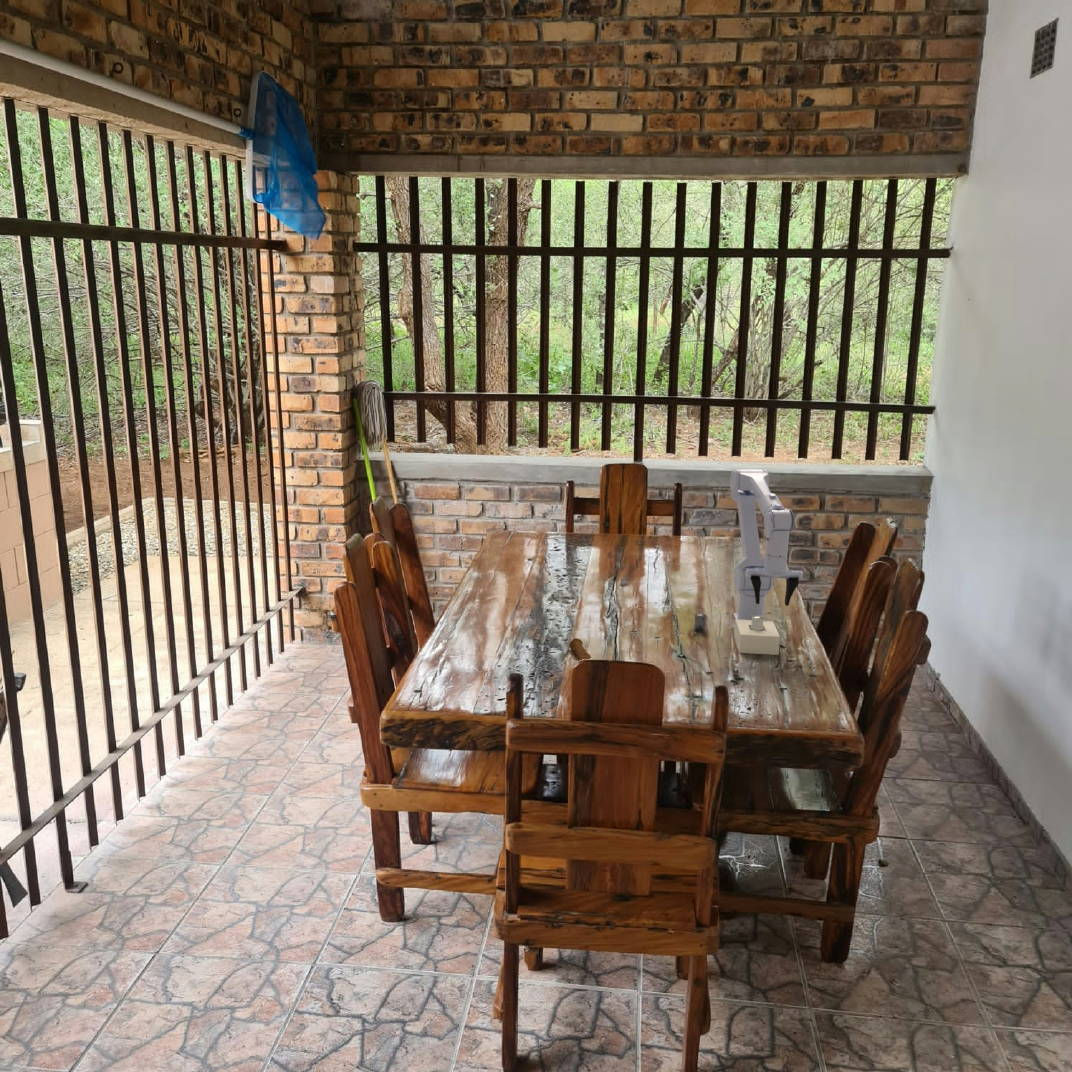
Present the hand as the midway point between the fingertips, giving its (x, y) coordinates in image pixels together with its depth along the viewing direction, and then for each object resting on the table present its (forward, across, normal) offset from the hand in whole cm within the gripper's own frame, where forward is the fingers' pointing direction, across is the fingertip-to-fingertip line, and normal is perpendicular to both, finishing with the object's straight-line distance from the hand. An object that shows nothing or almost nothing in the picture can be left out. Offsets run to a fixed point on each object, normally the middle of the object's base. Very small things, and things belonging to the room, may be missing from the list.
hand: (771, 603), depth 256 cm
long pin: (+10, -4, -4) cm, 12 cm away
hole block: (+10, -4, -4) cm, 12 cm away
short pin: (+10, -18, +6) cm, 22 cm away
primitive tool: (+11, -48, -23) cm, 55 cm away
